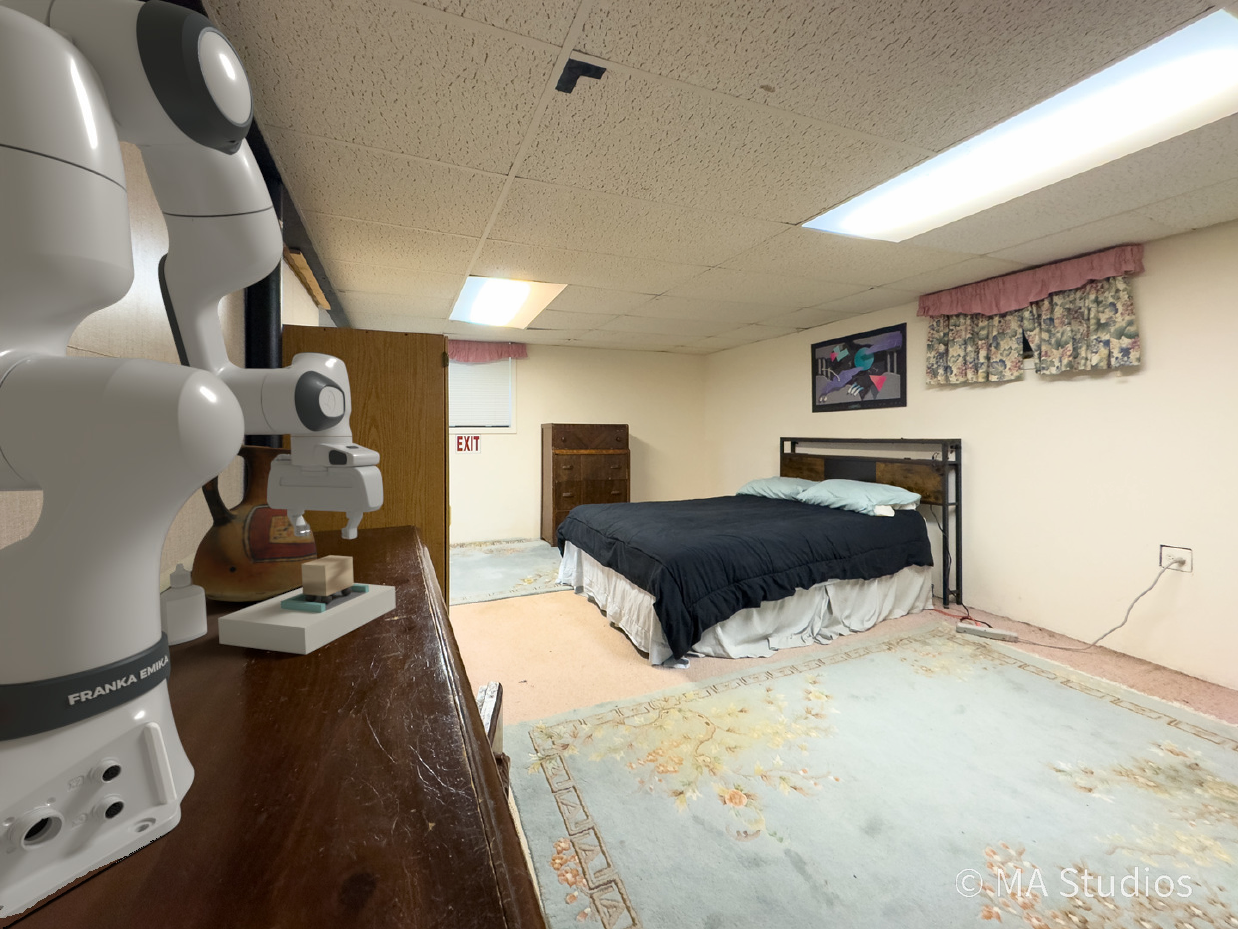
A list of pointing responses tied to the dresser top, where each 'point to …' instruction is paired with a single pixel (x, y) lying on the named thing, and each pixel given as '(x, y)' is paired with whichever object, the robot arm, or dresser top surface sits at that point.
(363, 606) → the dock
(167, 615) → the eye dropper bottle
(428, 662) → the dresser top surface
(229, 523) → the ceramic pitcher
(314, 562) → the beige wheeled cart
